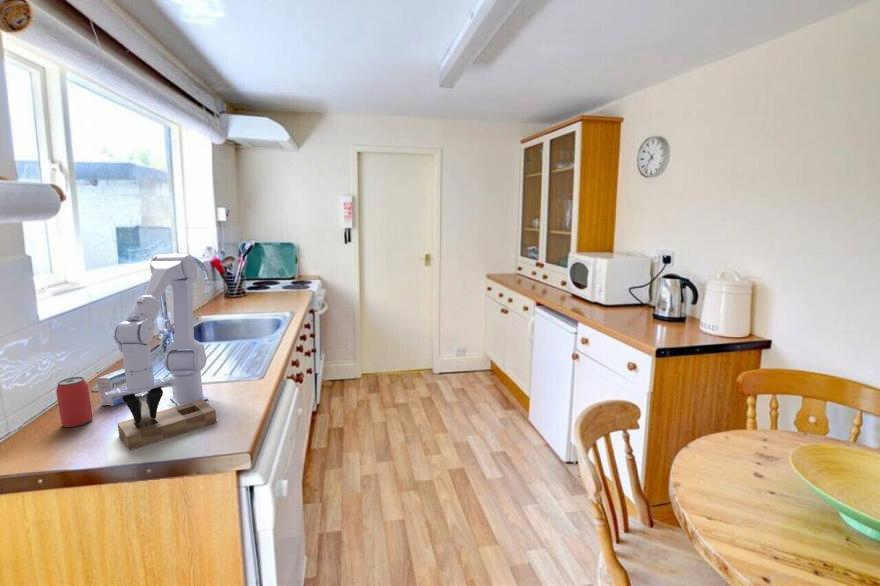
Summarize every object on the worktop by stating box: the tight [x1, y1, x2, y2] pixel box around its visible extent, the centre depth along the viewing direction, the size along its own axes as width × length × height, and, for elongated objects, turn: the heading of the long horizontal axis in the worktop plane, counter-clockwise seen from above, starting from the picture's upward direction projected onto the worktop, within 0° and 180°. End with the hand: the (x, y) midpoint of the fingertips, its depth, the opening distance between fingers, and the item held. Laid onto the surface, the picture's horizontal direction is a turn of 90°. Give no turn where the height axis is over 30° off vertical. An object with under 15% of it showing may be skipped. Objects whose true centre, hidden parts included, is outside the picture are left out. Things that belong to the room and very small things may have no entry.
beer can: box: [55, 376, 94, 428], centre depth 120 cm, size 7×7×12 cm
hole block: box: [116, 400, 217, 451], centre depth 117 cm, size 10×20×4 cm, turn 136°
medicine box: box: [96, 368, 136, 407], centre depth 134 cm, size 8×4×9 cm, turn 168°
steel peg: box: [135, 392, 153, 428], centre depth 113 cm, size 3×3×10 cm
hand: (145, 419), depth 113 cm, fingers closed on steel peg, 3 cm apart
